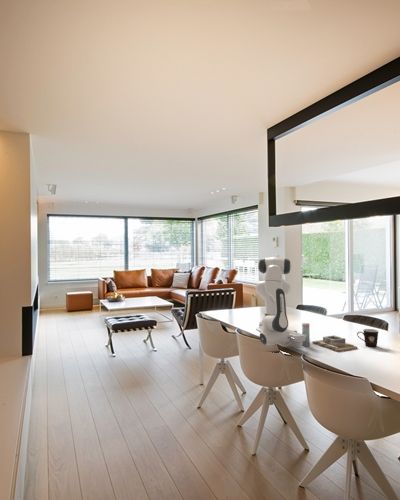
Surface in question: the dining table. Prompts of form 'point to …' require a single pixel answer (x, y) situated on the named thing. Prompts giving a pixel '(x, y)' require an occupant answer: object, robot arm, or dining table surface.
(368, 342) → the coffee mug
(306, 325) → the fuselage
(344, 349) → the assembly jig
